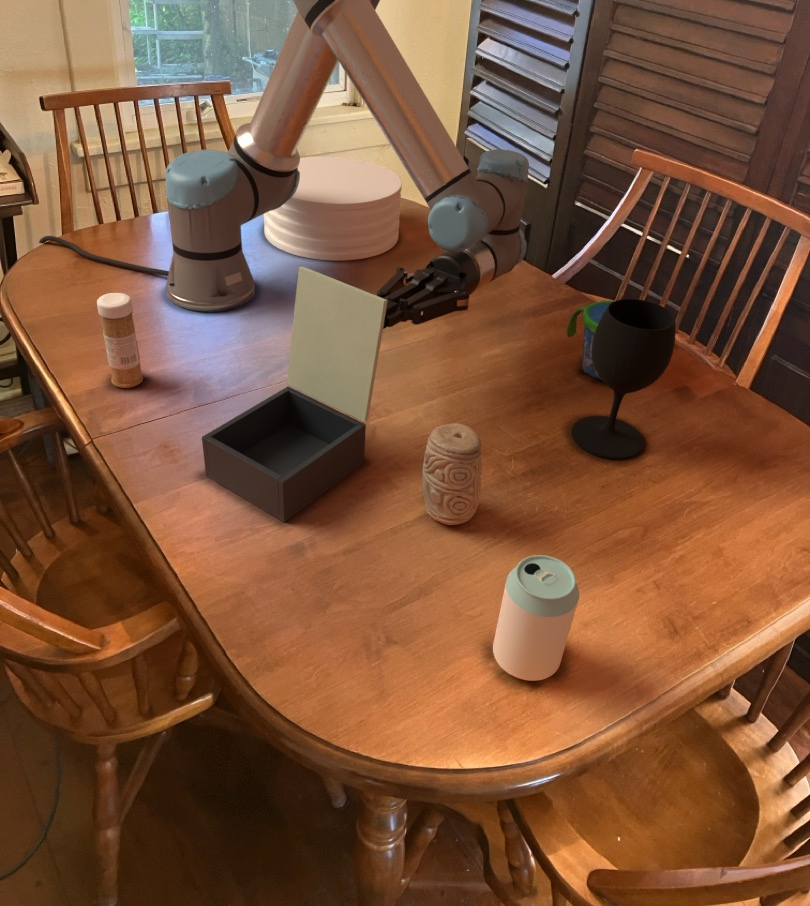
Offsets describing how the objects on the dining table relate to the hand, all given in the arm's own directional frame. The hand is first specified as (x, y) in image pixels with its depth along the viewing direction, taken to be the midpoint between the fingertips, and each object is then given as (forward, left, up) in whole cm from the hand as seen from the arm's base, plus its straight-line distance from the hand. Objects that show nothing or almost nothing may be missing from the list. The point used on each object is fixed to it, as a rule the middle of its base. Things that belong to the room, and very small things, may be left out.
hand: (364, 327), depth 106 cm
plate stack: (-27, +63, -15) cm, 70 cm away
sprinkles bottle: (-35, -3, -15) cm, 39 cm away
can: (+30, -34, -15) cm, 48 cm away
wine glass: (+35, +9, -15) cm, 39 cm away
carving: (+17, -15, -15) cm, 27 cm away
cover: (-2, -6, 0) cm, 6 cm away
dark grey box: (-5, -14, -15) cm, 21 cm away
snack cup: (+33, +28, -15) cm, 45 cm away
